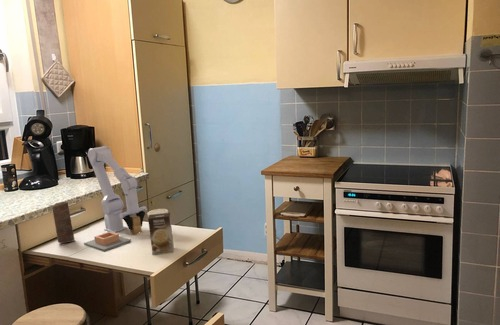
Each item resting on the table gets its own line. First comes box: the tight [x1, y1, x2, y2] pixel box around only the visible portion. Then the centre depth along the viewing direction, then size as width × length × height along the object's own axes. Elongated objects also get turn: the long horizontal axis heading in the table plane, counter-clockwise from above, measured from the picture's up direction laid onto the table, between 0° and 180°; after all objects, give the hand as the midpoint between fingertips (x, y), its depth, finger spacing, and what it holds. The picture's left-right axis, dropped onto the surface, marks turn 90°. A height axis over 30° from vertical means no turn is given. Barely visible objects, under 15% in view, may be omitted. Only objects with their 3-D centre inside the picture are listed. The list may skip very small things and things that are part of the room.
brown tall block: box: [51, 201, 75, 244], centre depth 201 cm, size 8×7×20 cm
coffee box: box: [147, 212, 175, 256], centre depth 176 cm, size 9×6×16 cm
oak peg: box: [129, 215, 143, 235], centre depth 207 cm, size 4×4×8 cm
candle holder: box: [146, 208, 169, 218], centre depth 199 cm, size 10×10×12 cm
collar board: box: [83, 231, 132, 253], centre depth 195 cm, size 18×14×4 cm
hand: (135, 227), depth 208 cm, fingers open, 5 cm apart
